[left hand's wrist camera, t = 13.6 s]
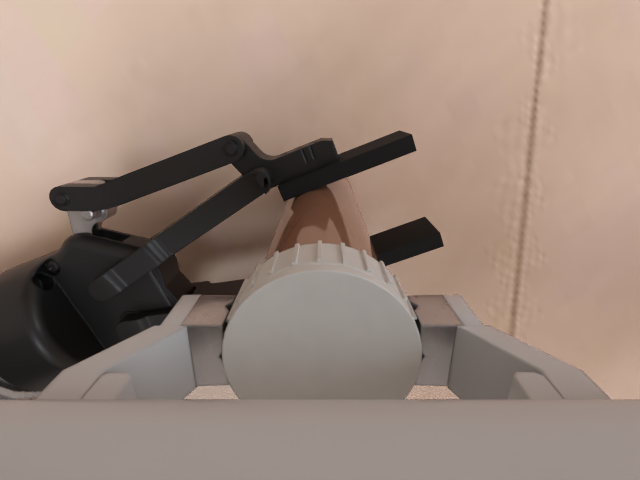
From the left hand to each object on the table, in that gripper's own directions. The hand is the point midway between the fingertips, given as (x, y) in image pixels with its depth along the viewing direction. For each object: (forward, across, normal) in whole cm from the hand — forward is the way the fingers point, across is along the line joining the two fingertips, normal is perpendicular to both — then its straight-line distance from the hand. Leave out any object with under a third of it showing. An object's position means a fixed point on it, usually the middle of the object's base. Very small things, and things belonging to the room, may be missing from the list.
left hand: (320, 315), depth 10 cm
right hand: (+9, -5, -2) cm, 10 cm away
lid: (-2, 0, 0) cm, 2 cm away
